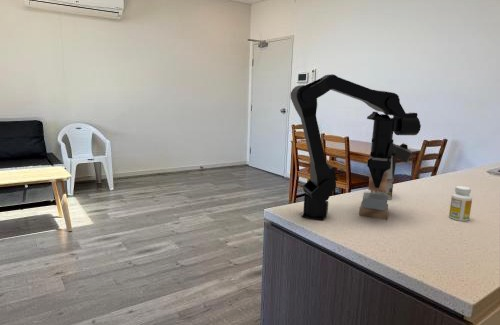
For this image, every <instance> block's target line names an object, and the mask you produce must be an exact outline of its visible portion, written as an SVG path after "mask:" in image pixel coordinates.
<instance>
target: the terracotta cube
mask: <svg viewBox="0 0 500 325" xmlns="http://www.w3.org/2000/svg"><path fill="white" fill-rule="evenodd" d="M387 177H388V172H384V174H383V177H382V180H381V183H380V187H379V188H375V185H374V182H373V179H372V176H371V173H370V172H369V179H368V189H367V190H368V191H371V190H373V191H381V192H386V186H387Z"/></svg>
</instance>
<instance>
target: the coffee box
mask: <svg viewBox="0 0 500 325" xmlns="http://www.w3.org/2000/svg"><path fill="white" fill-rule="evenodd" d="M396 163H397V158H396V157H394V156H392V158H391V169H389V170H387V171H385V172H388V177H387V186H386V192H381V191H373V190H370V193H373V194H382V195H387V201H391V200H392V199H393V189H394V182H395V181H394V180H395V171H396Z"/></svg>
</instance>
